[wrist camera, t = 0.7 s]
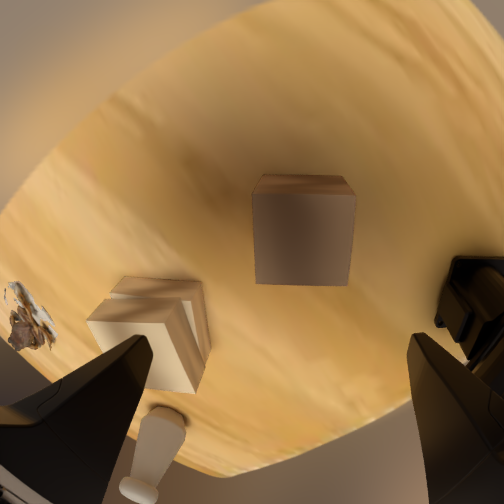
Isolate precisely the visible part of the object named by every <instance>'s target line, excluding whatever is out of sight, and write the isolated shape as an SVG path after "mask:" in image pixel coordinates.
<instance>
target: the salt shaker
mask: <svg viewBox="0 0 504 504" xmlns="http://www.w3.org/2000/svg"><path fill="white" fill-rule="evenodd" d="M185 436H186V430H185V425H184V420H183V417H182V415H181V414H179V413H177V412H176V411H174V410H172V409H171V408H166V407H158V406H157V407H156V408H155V409H153V410H152V411H151V412H149V413H148V414H147V415H145V416H144V417H143V418H142V420H141V424H140V429H139V434H138V438H137V444H136V449H135V454H134V460H133V465H132V469H131V474H130V477H124V478H123V479H122V481H121V483H120V486H119V489H120V491H121V493H122V494H123V495H124V496H126V497H127V498H129V499H131V500H133V501H135V502H138V503H141V504H154V503H155V502H156V500H157V498H158V490H156V489H155V488H156V486H157V485H158V483H159V481H160V480H161V478H162V477H163V475H164V473H165V472H166V470H167V468H168V467H169V465H170V464H171V462H172V460H173V459H174V457H175V456H176V454H177V452H178V451H179V449H180V447H181V446H182V444H183V442H184V441H185Z"/></svg>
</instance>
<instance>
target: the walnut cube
mask: <svg viewBox="0 0 504 504" xmlns="http://www.w3.org/2000/svg"><path fill="white" fill-rule="evenodd" d="M355 206H356V195H355V193H354V192H353V191H352V189H351V188H350V186H349V185H348V184H347V182H346V181H345V180H344V178H343V177H342V176H325V175H263V176H262V177H261V179H260V181H259V182H258V184H257V186H256V188H255V189H254V191H253V193H252V207H253V230H254V253H255V276H256V284H272V285H307V286H348V278H349V270H350V261H351V252H352V242H353V231H354V219H355Z"/></svg>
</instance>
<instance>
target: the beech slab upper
mask: <svg viewBox="0 0 504 504" xmlns="http://www.w3.org/2000/svg"><path fill="white" fill-rule="evenodd" d="M86 322H87V324H88V326H89V328H90V330H91V332H92V334H93V336H94V337H95V339H96V341H97V343H98V345H99V347H100V348H101V350H102V352H103V353H105V352H106V351H108V350H110V349H111V348H113V347H115V346H116V345H118V344H120V343H121V342H123V341H125V340H126V339H128V338H130V337H131V336H133V335H135V334H140V335H145V336H146V337H147V339H148V341H149V343H150V346H151V348H152V351H153V360H152V363H151V367H150V370H149V374H148V377H147V381H146V384H145V388H147V389H155V390H163V391H172V392H181V393H192V394H196V392H197V389H198V386H199V383H200V381H201V378H202V375H203V373H204V370H205V367H206V366H205V364H204V361H203V358H202V356H201V353H200V351H199V348H198V345H197V343H196V340H195V337H194V335H193V332H192V329H191V326H190V324H189V321H188V318H187V315H186V312H185V309H184V306H183V304H182V301H181V298H180V297H166V298H128V299H105V300H104V301H103V302H102V303H101V304H100V305H99V306H98V307H97V308H96V309H95V311H94V312H93V313H92V314H91V315H90V316H89V317H88V319H87V320H86Z"/></svg>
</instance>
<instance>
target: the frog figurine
mask: <svg viewBox="0 0 504 504" xmlns="http://www.w3.org/2000/svg"><path fill="white" fill-rule="evenodd" d="M9 286H10V288H11V289H13V290H14V293H15V295H16V296H17V298H18V300H19V301H17V300H16V299H15V298H14V300H15V301H16V303H17V304H18V303H19V306H18V308H17V311H18V314H19V315H18V314H17V313H16V312H14V311H13V310H12V311H11V316H10V324H11V326H12V333H11V335H10V337H9V338H8V342H9V343H11V344H12V346H13V347H14V348H15V350H16V351H20V350H21V349H24V348H25V347H29V348H31V349H34V350H36V349H38V347H41V345H44V344H45V341H44V340H45V339H47V341H48V343H49V347H50V351H51V348H52V347H51V343H52V342H53V343H54V342H55V338H56V337H57V336H58V334H57V333H56V332H55V331H54V330H53V329H52V328H51V326H50V325H49V328H48V329H46V330H45V329H44V328H43V327H41V326H40V318H41V319H42V320H44V321H48V322H49V323H50V324H51V325H53V326H55V324H54V322H53V320H52V319H51V317H50V315H49V314H48V313H47V311H46V310H45V309H44V308H43V306H42V310H41V309H40V308H39V307H38V306H37V305H36V304H35V302H34V299H33V296H32V295H31V294H30V293H29V292H28V290H27V289H26V288H25V287H24V285H23V284H22V283H21V282H19V281H14V282H9ZM9 286H8V288H9ZM5 291H6V288H5ZM5 295H6V293H5ZM5 295H4V299H5V302H6V305H8V304H7V299H6V297H5ZM19 316H20V317H19ZM15 321H20V322H17V323H16V322H15ZM34 336H35V337H34ZM32 342H33V343H32Z"/></svg>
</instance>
